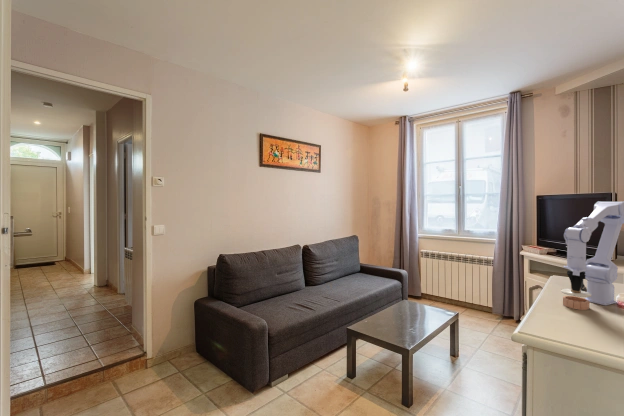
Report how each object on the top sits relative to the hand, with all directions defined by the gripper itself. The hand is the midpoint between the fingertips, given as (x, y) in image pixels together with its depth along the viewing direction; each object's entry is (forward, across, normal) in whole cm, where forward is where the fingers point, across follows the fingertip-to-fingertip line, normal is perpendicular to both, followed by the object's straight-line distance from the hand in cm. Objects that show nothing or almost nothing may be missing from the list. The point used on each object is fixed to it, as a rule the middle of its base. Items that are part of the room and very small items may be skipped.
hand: (575, 289), depth 120 cm
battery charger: (+7, -31, +2) cm, 32 cm away
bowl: (+7, 0, 0) cm, 7 cm away
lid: (+2, 0, 0) cm, 2 cm away
